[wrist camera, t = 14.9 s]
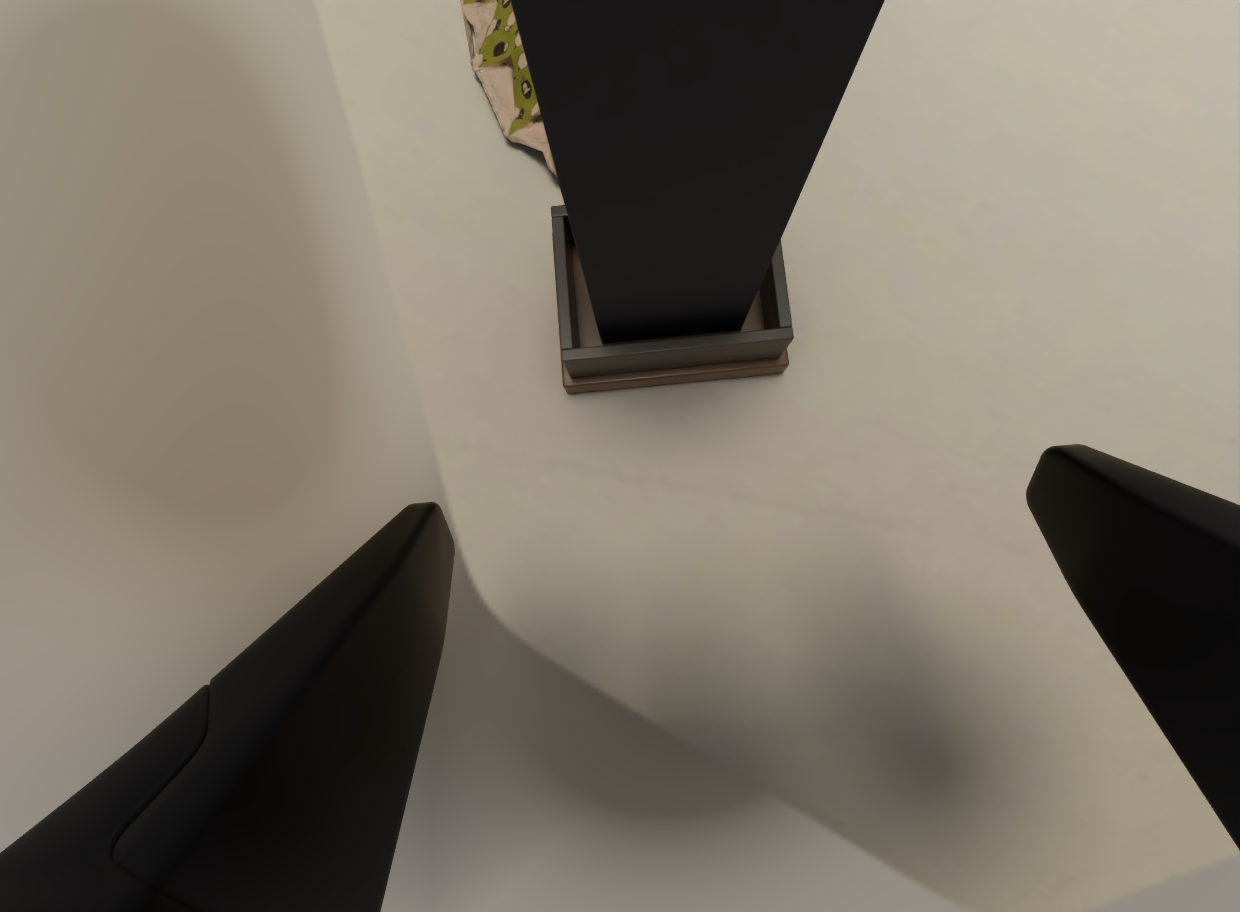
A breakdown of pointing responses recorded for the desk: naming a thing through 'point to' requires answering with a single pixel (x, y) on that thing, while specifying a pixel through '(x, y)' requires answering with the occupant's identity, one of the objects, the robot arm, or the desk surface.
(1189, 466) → the desk surface
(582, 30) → the back pad
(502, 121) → the bear figurine
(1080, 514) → the robot arm
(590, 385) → the seat base
